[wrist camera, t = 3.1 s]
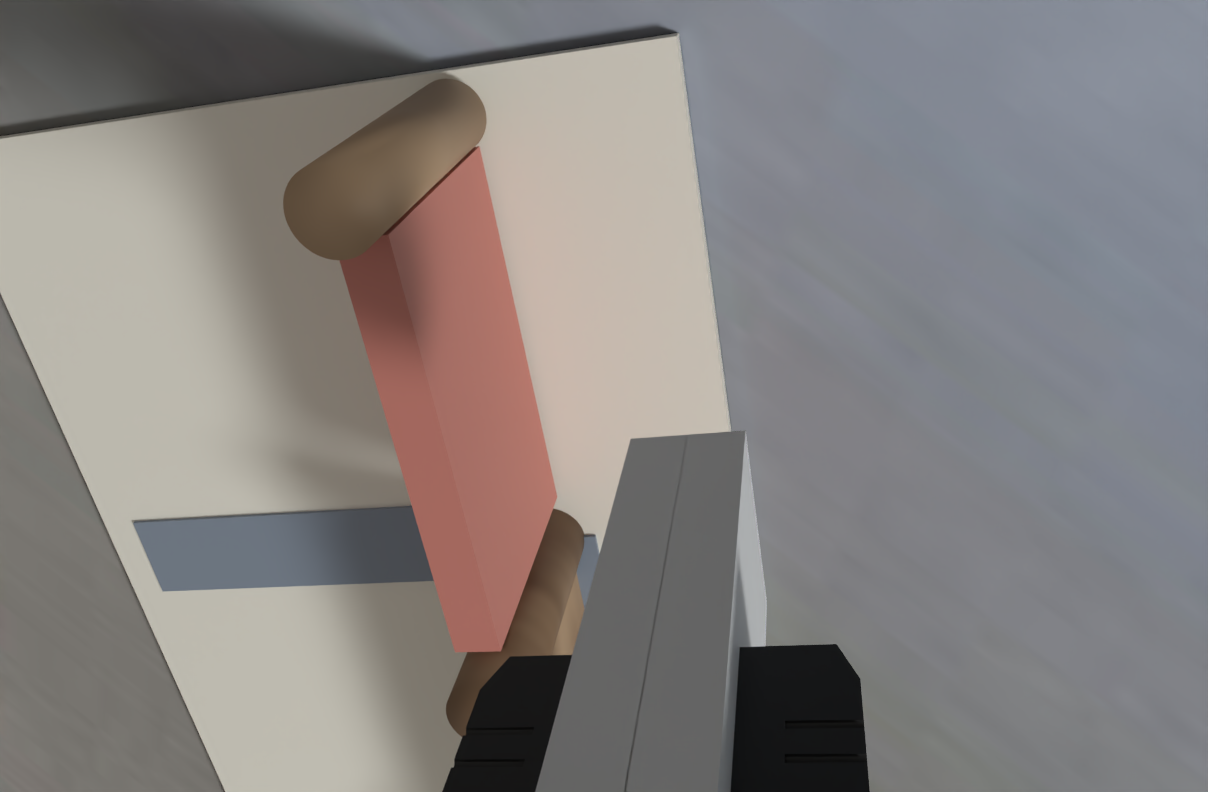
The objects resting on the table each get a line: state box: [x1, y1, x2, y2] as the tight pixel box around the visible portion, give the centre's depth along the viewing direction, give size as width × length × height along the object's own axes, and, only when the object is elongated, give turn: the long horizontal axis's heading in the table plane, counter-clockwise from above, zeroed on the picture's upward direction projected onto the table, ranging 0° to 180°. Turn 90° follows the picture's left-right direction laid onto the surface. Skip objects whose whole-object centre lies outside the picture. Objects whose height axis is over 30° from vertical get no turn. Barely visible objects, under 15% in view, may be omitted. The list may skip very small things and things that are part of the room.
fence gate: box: [283, 79, 557, 652], centre depth 22 cm, size 10×2×7 cm, turn 10°
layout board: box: [0, 33, 731, 792], centre depth 29 cm, size 27×18×1 cm, turn 10°
